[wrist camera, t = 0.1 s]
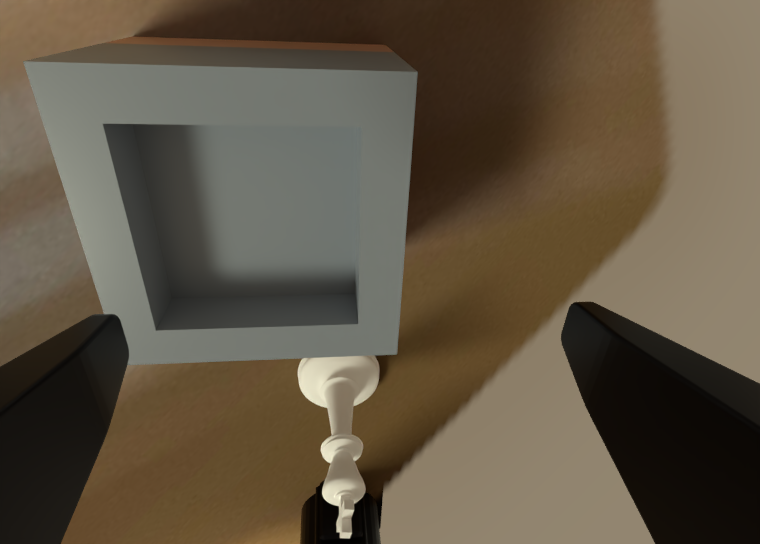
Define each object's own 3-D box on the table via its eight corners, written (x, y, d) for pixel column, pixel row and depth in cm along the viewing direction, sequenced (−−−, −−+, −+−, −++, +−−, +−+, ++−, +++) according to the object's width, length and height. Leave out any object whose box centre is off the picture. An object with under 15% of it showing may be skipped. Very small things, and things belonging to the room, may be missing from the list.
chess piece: (292, 397, 29) (279, 565, 21) (305, 335, 27) (296, 496, 18) (368, 404, 30) (387, 568, 22) (388, 345, 28) (417, 503, 19)
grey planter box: (376, 254, 25) (397, 354, 18) (179, 257, 24) (120, 365, 17) (385, 44, 20) (417, 71, 13) (134, 36, 19) (23, 61, 12)
